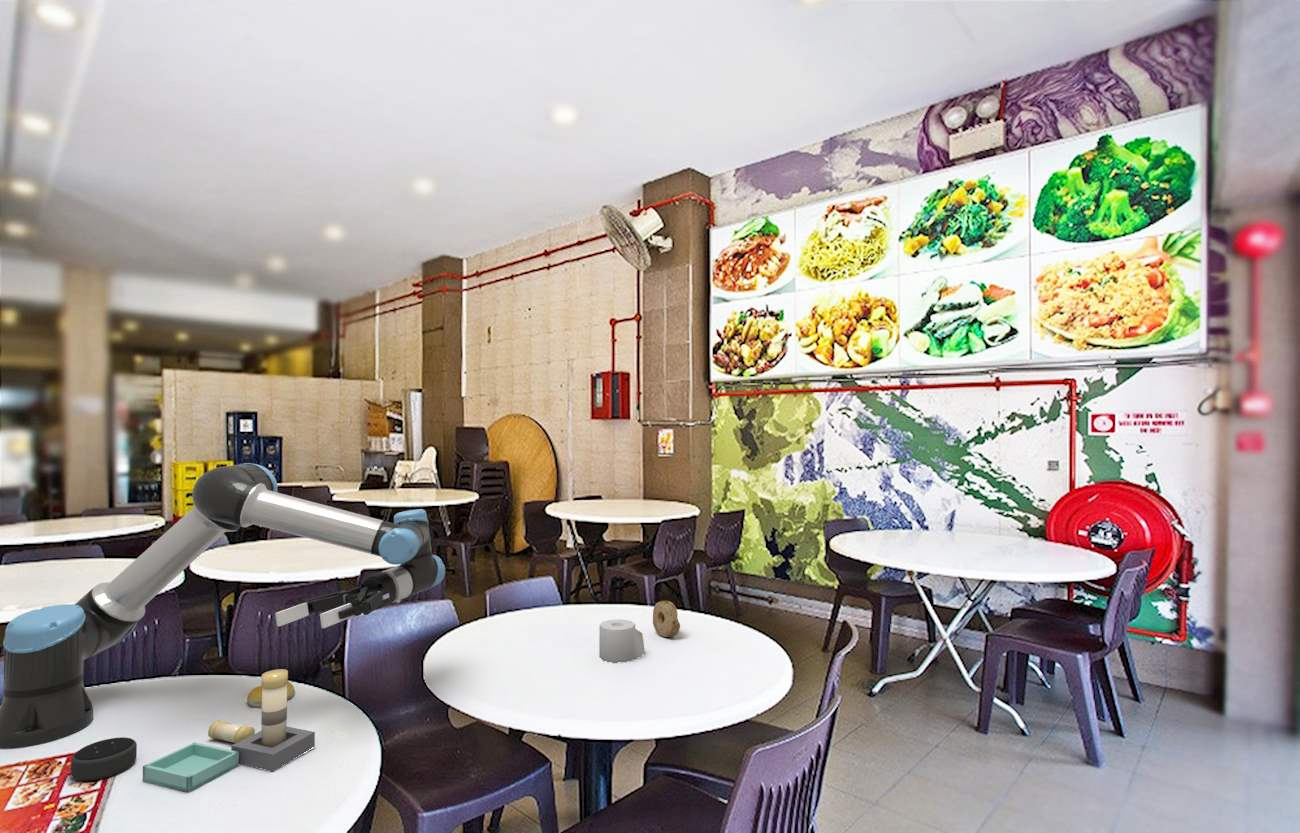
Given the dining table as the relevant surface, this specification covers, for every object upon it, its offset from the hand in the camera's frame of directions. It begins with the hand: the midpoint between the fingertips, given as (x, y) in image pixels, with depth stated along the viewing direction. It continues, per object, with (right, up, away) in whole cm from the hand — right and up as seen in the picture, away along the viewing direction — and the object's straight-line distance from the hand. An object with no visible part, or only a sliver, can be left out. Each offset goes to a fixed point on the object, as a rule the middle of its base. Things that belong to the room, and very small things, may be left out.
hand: (298, 620), depth 127 cm
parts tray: (-11, -22, -14) cm, 29 cm away
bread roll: (-16, -23, +17) cm, 33 cm away
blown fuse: (-1, -23, -7) cm, 24 cm away
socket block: (-1, -23, -7) cm, 24 cm away
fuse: (-12, -23, -2) cm, 26 cm away
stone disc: (+74, -24, +62) cm, 99 cm away
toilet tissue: (+62, -24, +45) cm, 80 cm away
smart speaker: (-28, -23, -12) cm, 38 cm away
